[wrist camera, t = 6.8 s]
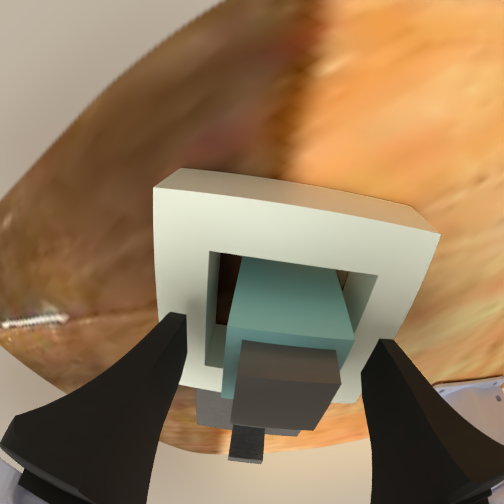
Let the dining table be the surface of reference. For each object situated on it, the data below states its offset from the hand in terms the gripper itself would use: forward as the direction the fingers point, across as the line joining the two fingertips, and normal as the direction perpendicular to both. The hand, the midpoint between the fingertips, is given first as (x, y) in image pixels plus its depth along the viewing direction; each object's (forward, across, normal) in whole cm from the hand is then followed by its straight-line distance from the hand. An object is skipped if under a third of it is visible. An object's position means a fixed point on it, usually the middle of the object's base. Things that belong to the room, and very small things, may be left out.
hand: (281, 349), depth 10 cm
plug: (+4, 0, 0) cm, 4 cm away
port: (+4, 0, 0) cm, 4 cm away
